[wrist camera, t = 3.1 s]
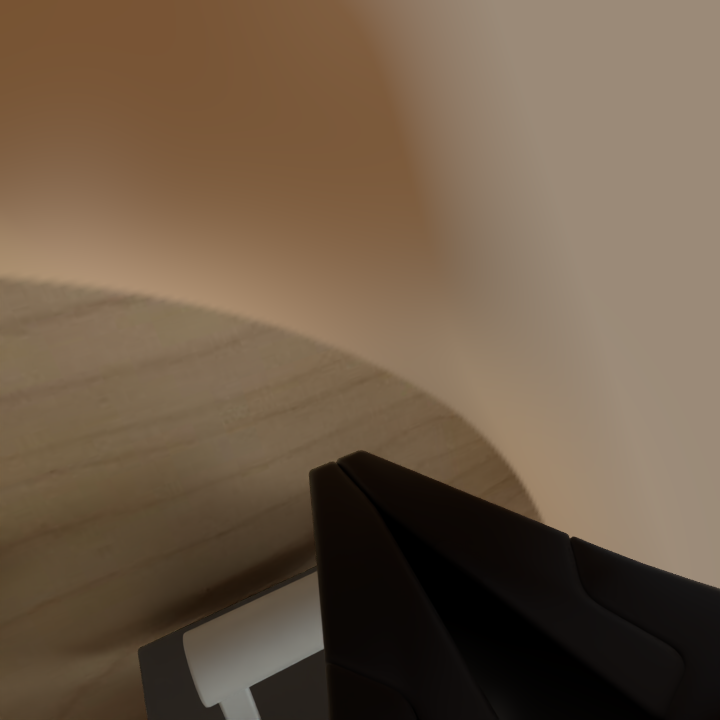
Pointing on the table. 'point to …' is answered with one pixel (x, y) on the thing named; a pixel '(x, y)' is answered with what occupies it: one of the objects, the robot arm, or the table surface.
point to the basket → (243, 660)
